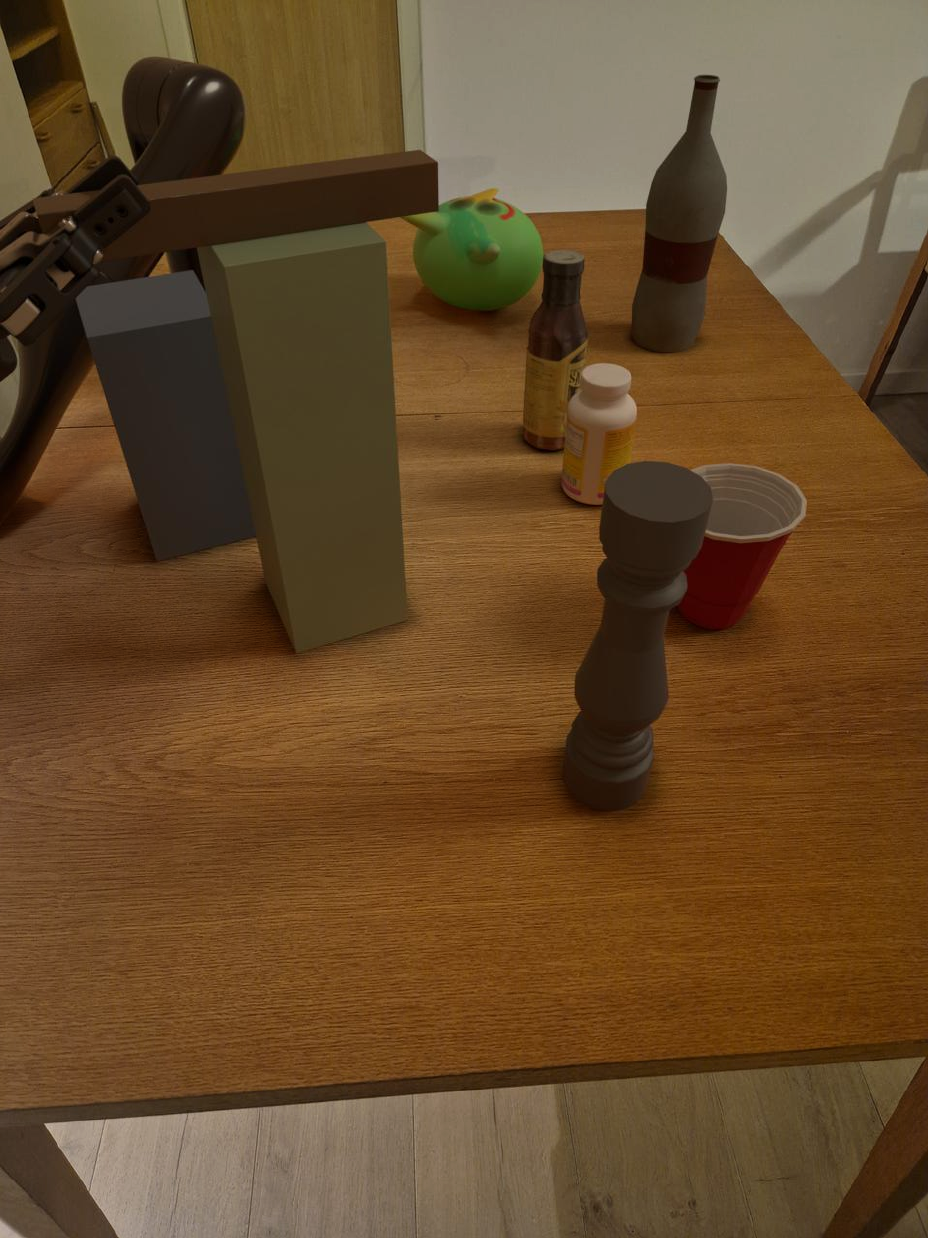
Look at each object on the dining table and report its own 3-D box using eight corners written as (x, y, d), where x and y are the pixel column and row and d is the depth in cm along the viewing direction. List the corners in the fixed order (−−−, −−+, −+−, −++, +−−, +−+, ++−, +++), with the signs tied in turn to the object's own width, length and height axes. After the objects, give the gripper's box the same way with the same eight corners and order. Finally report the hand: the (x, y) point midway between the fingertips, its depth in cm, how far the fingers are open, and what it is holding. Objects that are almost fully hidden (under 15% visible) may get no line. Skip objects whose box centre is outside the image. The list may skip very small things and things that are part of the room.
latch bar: (54, 269, 50) (36, 214, 47) (49, 251, 52) (32, 197, 49) (439, 211, 57) (438, 161, 55) (421, 197, 59) (420, 149, 57)
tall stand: (296, 653, 72) (223, 266, 50) (265, 582, 78) (189, 212, 57) (408, 620, 75) (386, 240, 53) (369, 553, 81) (335, 192, 60)
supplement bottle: (630, 477, 91) (649, 364, 82) (617, 513, 86) (635, 396, 77) (568, 466, 92) (580, 353, 84) (553, 500, 88) (563, 384, 79)
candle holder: (555, 744, 65) (589, 460, 48) (636, 739, 65) (699, 455, 48) (569, 814, 60) (613, 528, 43) (656, 808, 61) (733, 522, 44)
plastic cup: (670, 553, 82) (693, 443, 73) (784, 592, 78) (822, 480, 69) (625, 622, 75) (645, 509, 67) (748, 668, 71) (786, 553, 63)
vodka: (690, 323, 118) (739, 67, 97) (706, 354, 111) (761, 86, 91) (622, 324, 118) (656, 67, 97) (634, 355, 111) (673, 87, 90)
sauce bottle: (574, 456, 94) (593, 272, 80) (517, 449, 95) (527, 267, 81) (580, 425, 98) (599, 247, 85) (526, 419, 99) (536, 242, 86)
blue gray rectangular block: (156, 561, 81) (86, 337, 65) (139, 504, 87) (72, 288, 72) (262, 534, 84) (218, 314, 68) (237, 481, 90) (192, 269, 75)
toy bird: (559, 298, 124) (568, 188, 114) (499, 343, 113) (502, 226, 103) (454, 271, 131) (453, 166, 121) (388, 311, 120) (381, 199, 110)
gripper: (-37, 359, 59) (160, 199, 57) (-35, 463, 49) (201, 274, 48) (-144, 269, 53) (72, 91, 52) (-165, 367, 44) (99, 151, 42)
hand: (133, 180), depth 50 cm, fingers open, 3 cm apart
